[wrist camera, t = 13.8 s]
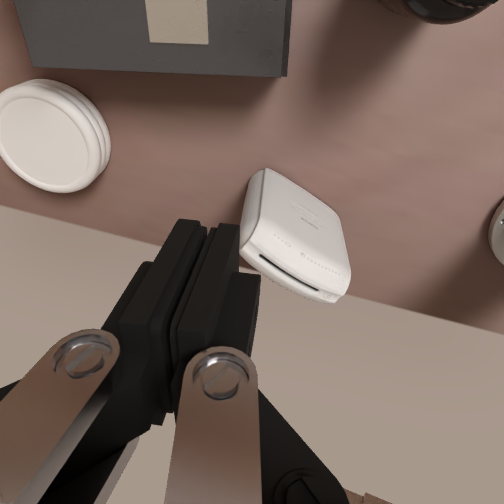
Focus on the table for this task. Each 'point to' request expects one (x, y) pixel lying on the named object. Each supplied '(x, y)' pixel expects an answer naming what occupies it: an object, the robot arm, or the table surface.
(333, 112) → the table surface
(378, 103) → the table surface
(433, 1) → the supplement bottle
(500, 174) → the table surface
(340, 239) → the photo printer
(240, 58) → the grey lever box
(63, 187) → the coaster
